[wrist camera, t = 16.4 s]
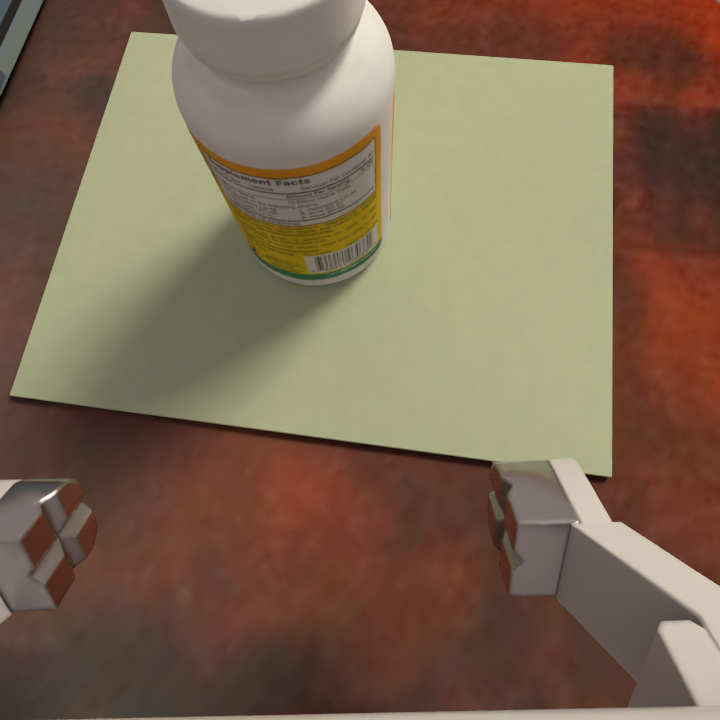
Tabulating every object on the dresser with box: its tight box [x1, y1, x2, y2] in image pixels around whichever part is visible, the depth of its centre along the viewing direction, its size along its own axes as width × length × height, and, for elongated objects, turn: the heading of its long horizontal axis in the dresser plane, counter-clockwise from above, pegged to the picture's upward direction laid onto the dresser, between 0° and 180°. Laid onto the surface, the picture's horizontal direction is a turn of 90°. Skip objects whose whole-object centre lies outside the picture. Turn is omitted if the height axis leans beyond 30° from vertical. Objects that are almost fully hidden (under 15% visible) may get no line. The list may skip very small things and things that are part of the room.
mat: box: [10, 32, 613, 477], centre depth 18 cm, size 20×16×1 cm
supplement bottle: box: [162, 0, 395, 285], centre depth 14 cm, size 5×5×10 cm
